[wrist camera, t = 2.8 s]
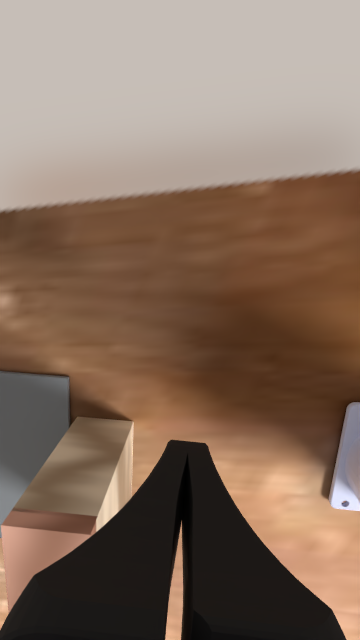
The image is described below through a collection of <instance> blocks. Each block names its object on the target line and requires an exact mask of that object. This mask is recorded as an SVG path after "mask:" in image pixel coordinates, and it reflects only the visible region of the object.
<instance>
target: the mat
mask: <svg viewBox="0 0 360 640" xmlns="http://www.w3.org/2000/svg"><path fill="white" fill-rule="evenodd" d="M69 428H70V390H69V377H67V376H54V375H42V374H30V373H18V372H6V371H0V538H2V532H1V525H2V523H3V522H4V520H5V519H6V517H7V516H8V515H9V513H10V512H11V510H12V509H13V507H14V506H15V505H16V503H17V502H18V500H19V499H20V497H21V496H22V495H23V493H24V492H25V490H26V489H27V487H28V486H29V485H30V483H31V482H32V480H33V479H34V478H35V476H36V475H37V473H38V472H39V470H40V469H41V468H42V466H43V465H44V463H45V462H46V460H47V459H48V458H49V456H50V455H51V453H52V452H53V450H54V449H55V448H56V446H57V445H58V443H59V442H60V441H61V439H62V438H63V436H64V435H65V433H66V432H67V431H68V429H69Z"/></svg>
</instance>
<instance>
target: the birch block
mask: <svg viewBox="0 0 360 640" xmlns="http://www.w3.org/2000/svg"><path fill="white" fill-rule="evenodd" d="M133 424H134V421H123V420H112V419H100V418H89V417H78V416H77V418H76V419H75V421H74V422H73V423H72V425H71V426H70V428H69V429H68V431H67V432H66V433H65V435H64V436H63V438H62V439H61V441H60V442H59V443H58V445H57V446H56V448H55V449H54V450H53V452H52V453H51V455H50V456H49V458H48V459H47V460H46V462H45V463H44V465H43V466H42V468H41V469H40V470H39V472H38V473H37V475H36V476H35V478H34V479H33V480H32V482H31V483H30V485H29V486H28V487H27V489H26V490H25V492H24V493H23V495H22V496H21V497H20V499H19V500H18V502H17V503H16V505H15V506H14V507H13V509H12V510H11V512H10V513H9V515H8V516H7V517H6V519H5V520H4V522H3V523H2V525H1V532H2V543H3V554H4V565H5V577H6V588H7V599H8V610H9V612H10V611H11V609H12V607H13V606H14V604H15V603H16V601H17V600H18V598H19V596H20V595H21V593H22V592H23V590H24V589H25V587H26V586H27V584H28V583H29V581H30V580H31V579H32V577H33V576H34V575H35V574H36V573H38V572H40V571H42V570H43V569H45V568H46V567H48V566H50V565H51V564H53V563H54V562H56V561H58V560H59V559H61V558H62V557H64V556H65V555H67V554H68V553H70V552H71V551H73V550H74V549H75V548H76V547H78V546H79V545H80V544H82V543H83V542H84V541H86V540H87V539H88V538H89V537H91V536H92V535H93V534H95V533H96V532H97V531H98V530H99V529H100V528H102V527H103V526H104V525H105V524H106V523H107V522H108V521H109V520H110V519H111V518H112V517H113V516H115V515H116V514H117V513H118V512H119V511H120V510H121V509H122V508H123V506H124V505H125V504H126V503H127V502H128V501H129V500H130V499H131V498H132V462H133Z"/></svg>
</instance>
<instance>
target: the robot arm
mask: <svg viewBox="0 0 360 640" xmlns="http://www.w3.org/2000/svg"><path fill="white" fill-rule="evenodd" d="M343 501H346V502H344V503H342V502H343ZM329 502H330V504H331V506H332V507H333V508H336V509H345V510H355V511H360V402H352V403H350V404H349V405H348V406H347V409H346V414H345V419H344V424H343V429H342V434H341V439H340V444H339V450H338V455H337V460H336V465H335V470H334V475H333V480H332V485H331V490H330V495H329ZM181 521H182V550H183V616H182V634H181V640H346V638H345V636H344V634H343V631H342V629H341V627H340V625H339V623H338V621H337V619H336V617H335V615H334V613H333V611H332V609H331V608H329V607H328V606H327V605H326V604H325V603H324V602H323V601H321V600H320V599H319V598H318V597H317V596H316V595H314V594H313V593H312V592H311V591H310V590H309V589H308V588H306V587H305V586H304V585H303V584H302V583H301V582H300V581H299V580H297V579H296V578H295V577H294V576H293V575H292V574H291V573H290V572H289V571H288V570H287V569H286V568H285V567H284V566H283V565H282V564H281V563H280V561H279V560H278V559H277V558H276V557H275V556H274V555H273V554H272V552H271V551H270V550H269V549H268V548H267V547H266V546H265V545H264V543H263V542H262V541H261V540H260V538H259V537H258V536H257V535H256V533H255V532H254V531H253V530H252V528H251V527H250V525H249V524H248V523H247V521H246V520H245V518H244V517H243V516H242V514H241V513H240V511H239V509H238V508H237V506H236V505H235V503H234V501H233V500H232V498H231V496H230V495H229V493H228V491H227V489H226V488H225V486H224V484H223V482H222V480H221V478H220V476H219V474H218V472H217V470H216V467H215V465H214V463H213V460H212V458H211V455H210V452H209V449H208V446H207V445H206V443H198V442H188V441H178V440H170V441H169V442H168V444H167V446H166V449H165V451H164V453H163V454H162V456H161V458H160V460H159V461H158V463H157V464H156V466H155V467H154V469H153V470H152V472H151V473H150V475H149V476H148V478H147V479H146V480H145V482H144V483H143V484H142V485H141V487H140V488H139V489H138V491H137V492H136V493H135V494H134V495H133V497H132V498H131V499H130V500H129V501H128V502H127V503H126V504H125V505H124V506H123V508H122V509H121V510H120V511H119V512H118V513H117V514H116V515H115V516H113V517H112V518H111V519H110V520H109V521H108V522H107V523H106V524H105V525H104V526H103V527H102V528H100V529H99V530H98V531H97V532H96V533H95V534H93V535H92V536H91V537H89V538H88V539H87V540H86V541H84V542H83V543H82V544H80V545H79V546H78V547H76V548H75V549H74V550H73V551H71V552H70V553H68V554H67V555H65V556H64V557H62V558H61V559H59V560H58V561H56V562H54V563H53V564H51V565H50V566H48V567H46V568H45V569H43V570H42V571H40V572H38V573H36V574H35V575H34V576H33V577H32V579H31V580H30V581H29V583H28V584H27V586H26V587H25V589H24V590H23V592H22V593H21V595H20V596H19V598H18V600H17V601H16V603H15V604H14V606H13V607H12V609H11V611H10V612H9V614H8V616H7V618H6V620H5V622H4V624H3V626H2V628H1V630H0V640H165V634H166V623H167V612H168V601H169V594H170V586H171V580H172V574H173V569H174V563H175V557H176V551H177V545H178V539H179V533H180V527H181Z"/></svg>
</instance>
